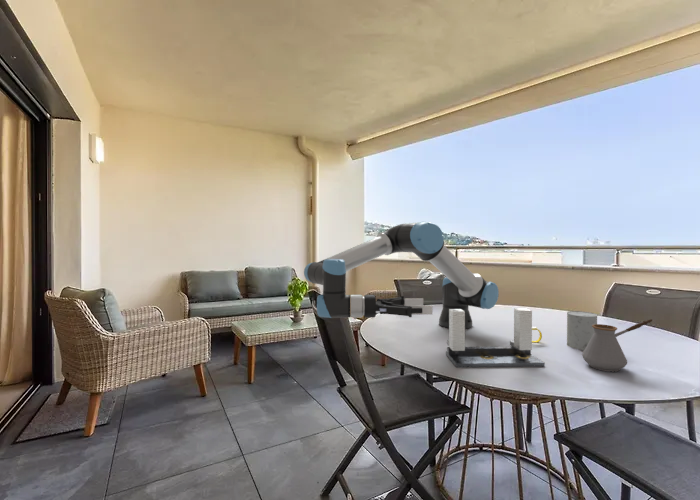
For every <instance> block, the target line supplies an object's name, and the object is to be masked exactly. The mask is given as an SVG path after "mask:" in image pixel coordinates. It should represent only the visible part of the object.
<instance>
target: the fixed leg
mask: <svg viewBox="0 0 700 500" xmlns="http://www.w3.org/2000/svg"><path fill="white" fill-rule="evenodd" d="M532 327H533V310H531V309H529V308H526V307H524V308H523V307H521V308H520V307H519V308H518V307H517V308H513V340H509V346H512V347H514V348H515V349H517V350H521V355H525V350H531V351H532V350H533V349H532V348H533V343H532V341H533V333H532V332H533V330H532Z"/></svg>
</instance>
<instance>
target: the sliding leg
mask: <svg viewBox="0 0 700 500" xmlns="http://www.w3.org/2000/svg"><path fill="white" fill-rule="evenodd" d="M465 335H466V328H465V311H463V310H462V309H449V328H448V337H449V338H448V339H449V340H447V341H446V342H447V347H450V348H451V350H452V351H455V356H459V351H465V347H466V345H465V344H466V343H465V342H466V340H465V339H466V338H465V337H466V336H465Z"/></svg>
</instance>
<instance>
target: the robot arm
mask: <svg viewBox="0 0 700 500" xmlns="http://www.w3.org/2000/svg"><path fill="white" fill-rule="evenodd" d="M444 239H445V238H444V236H443V231H442V229H441V228H440V226H439V225H437V224H436V223H433V222H430V221H421V222H409V223H405V222H404V223H401V224H397V225H395V226H393V227H391V228H389V229H387V230H384V231H382V232H379V233H377V235H376V237H373V238H372V239H368V240H367V241H365V242H363V243H359V244H357V245H356V246H355V245H354V246H353V247H350V248H348V249H345V250H344V251H341V252H339V253H337V254H334V255H331V256H330V257H327V258H325V259H322V260H320V261H318V262H315V261H313V262H310V263H308V264H307V265H305V267H304V270H303V276H304V278H305V279H306V280H307V281H308V282H310V283H311V284H314V285H315V284H316V285H320V286H322V294H319V295H317V298H316V313H317V316H318V317H319V318H330V319H334V318H335V319H339V318H353V320H356V319H357V318H363V316H364V318H371V319H373V318H375V317H376V316H377V312H379V314H380V315H395V316H403V317H404V316H406V317H408V318H413V315H415V316H416V315H423V316H424V315H433V305H428V304H427V305H424V298H423V297H422V298H420V297H419V298H417V297H413V298H412V297H410V298H405V296H404V295H402V296H399V297H389V298H376V295H375V294H365V295H362V294H346V288H347V286H346V283H347V282H346V281H347V277H346V276H347V272H349V271H351V270H353V269H355V268H357V267H359V266H362V265H364V264H366V263H369V262H370V261H372V260H375V259H377V258H379V257H382V256H383V255H385V256H389V255H391V254H395V253H413V254H414V255H416V256H417V257H418V258H419V259H420V260H422V261H423V262H429V263H431V265H433V267H435V268H436V269H437V270H438V271H439V272H440V273H441V274H442V275H443V276H445V277H444V278H443V280H442V285H441V287H442V310H441V312H440V315H439V318H438V325H439V326H441V327H444V328H448V329H449V309H462V310H463V311H465V329H469V328H473V319H472V316H471V313H470V310H469V306H470V307H473V308H479V309H483V310H490V309H493V308H494V307H495V306H496V304H497V303H498V299H499V287H498V285H497V283H495V282H493V281H487V280H485V279H484V278H483V276H482V275H480V274H479V273H473V272H472V271H471V270H470V269H469V268H468V267H467V266H466V265H464V264H463V262H462V261H461V260H459V258H457V256H455V254H454V253H452V252H451V251H450V250H449V249H448V247H446V246H445V240H444Z"/></svg>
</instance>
